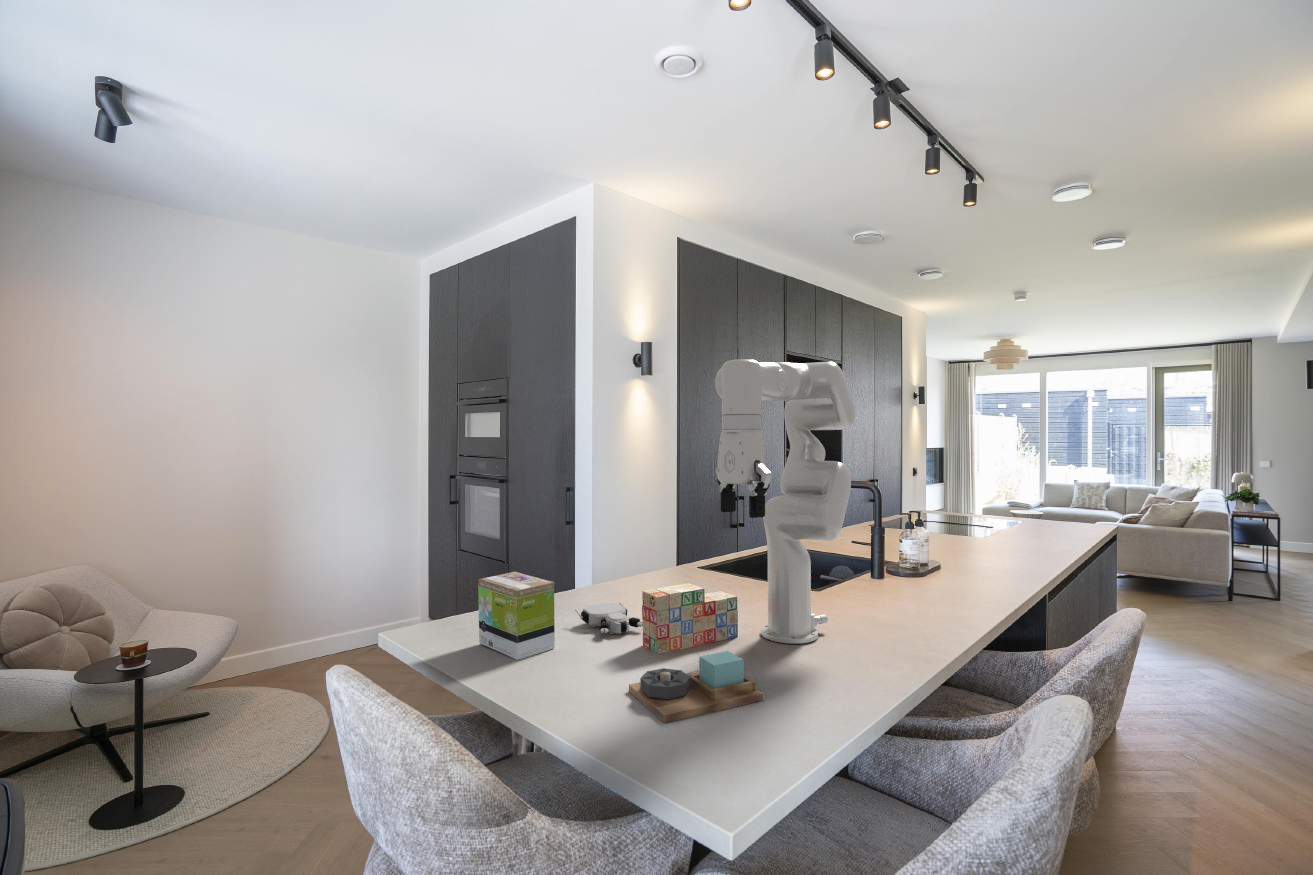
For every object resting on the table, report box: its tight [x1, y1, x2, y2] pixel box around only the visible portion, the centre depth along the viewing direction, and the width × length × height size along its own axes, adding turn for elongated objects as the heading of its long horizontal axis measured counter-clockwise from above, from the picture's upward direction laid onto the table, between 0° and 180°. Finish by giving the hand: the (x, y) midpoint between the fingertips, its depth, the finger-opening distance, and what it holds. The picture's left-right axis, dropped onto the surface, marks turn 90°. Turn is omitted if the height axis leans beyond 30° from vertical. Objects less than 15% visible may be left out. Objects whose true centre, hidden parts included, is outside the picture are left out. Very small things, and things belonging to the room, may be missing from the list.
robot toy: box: [574, 601, 643, 635], centre depth 150 cm, size 12×4×15 cm
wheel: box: [639, 667, 690, 699], centre depth 110 cm, size 8×8×2 cm
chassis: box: [628, 670, 764, 724], centre depth 111 cm, size 19×14×4 cm
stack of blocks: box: [641, 583, 739, 654], centre depth 140 cm, size 21×6×12 cm, turn 120°
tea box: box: [477, 571, 556, 661], centre depth 137 cm, size 15×10×15 cm, turn 47°
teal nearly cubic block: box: [698, 650, 745, 689], centre depth 111 cm, size 6×5×5 cm
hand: (742, 514), depth 121 cm, fingers open, 9 cm apart
